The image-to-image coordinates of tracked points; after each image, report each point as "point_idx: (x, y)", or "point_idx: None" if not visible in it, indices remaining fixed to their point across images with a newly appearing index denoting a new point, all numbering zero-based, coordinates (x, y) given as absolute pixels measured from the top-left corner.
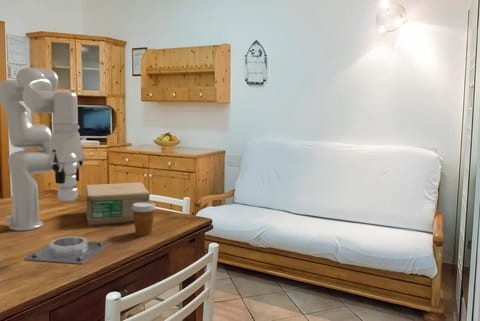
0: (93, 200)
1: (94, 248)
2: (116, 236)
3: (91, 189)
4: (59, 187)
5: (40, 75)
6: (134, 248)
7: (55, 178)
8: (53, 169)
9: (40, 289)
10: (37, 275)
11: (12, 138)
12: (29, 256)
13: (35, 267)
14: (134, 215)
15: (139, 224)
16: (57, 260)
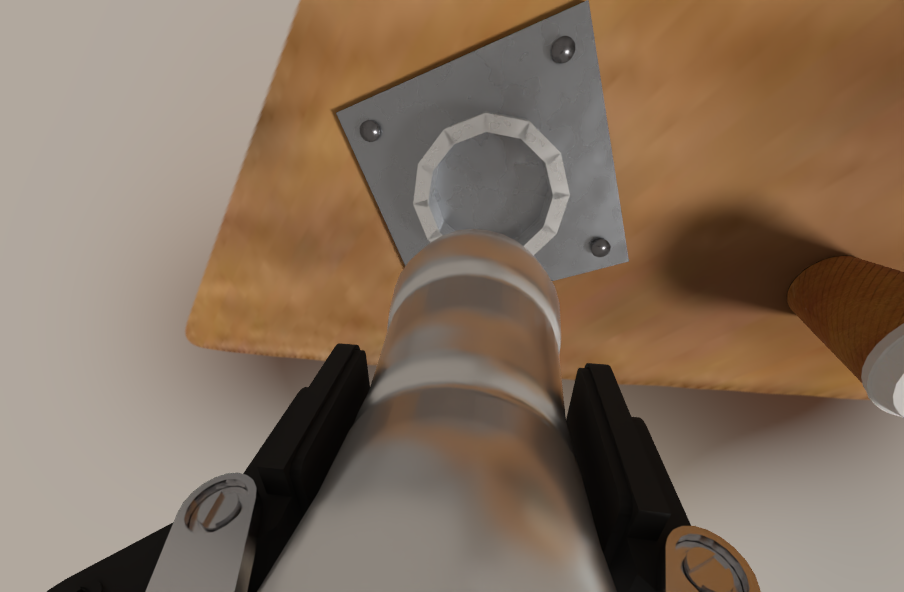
0: None
1: (547, 261)
2: (749, 215)
3: None
4: (387, 332)
5: None
6: (617, 354)
7: (293, 403)
8: (163, 537)
9: (267, 334)
10: (300, 267)
11: None
12: (357, 114)
13: (327, 212)
14: (869, 317)
15: (818, 320)
16: (393, 239)
